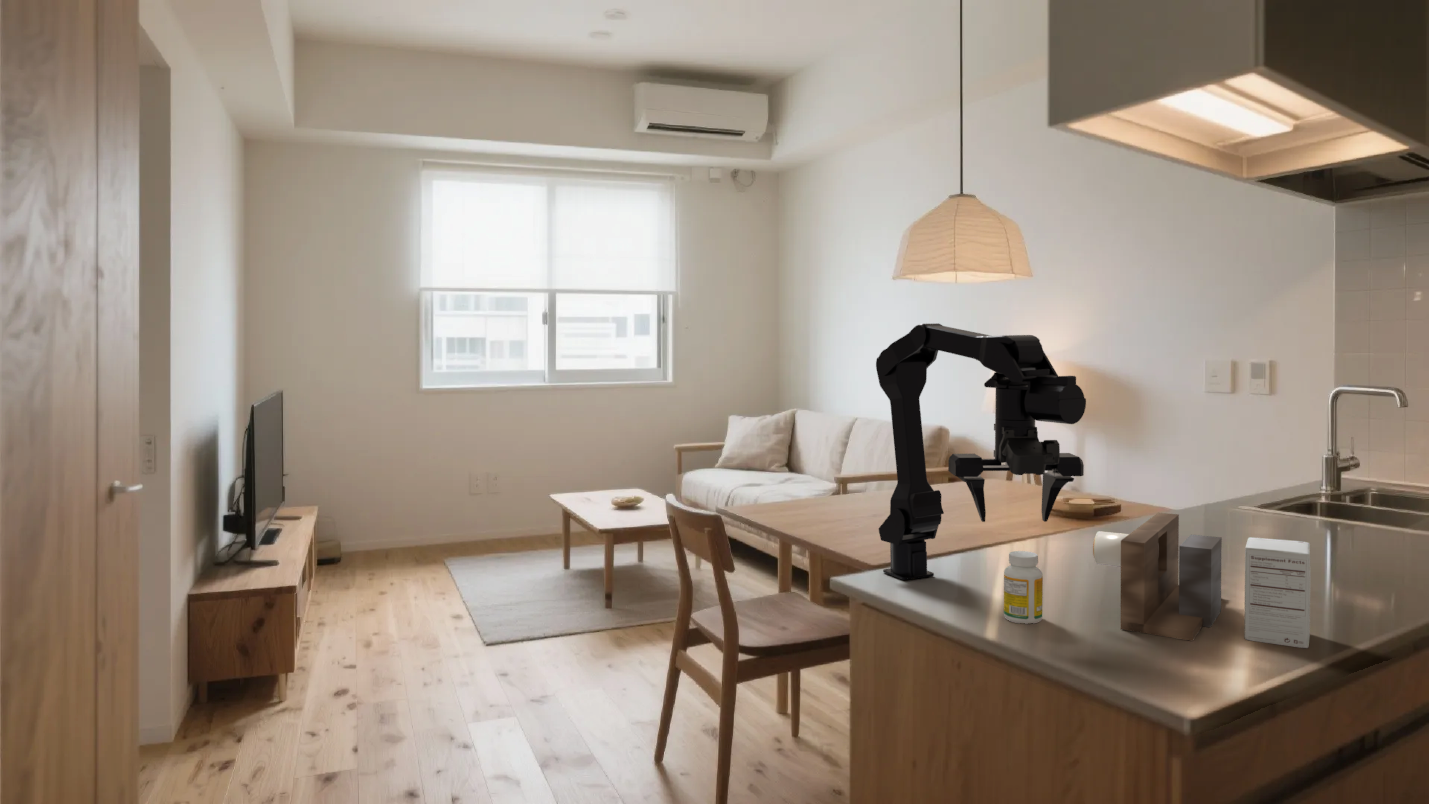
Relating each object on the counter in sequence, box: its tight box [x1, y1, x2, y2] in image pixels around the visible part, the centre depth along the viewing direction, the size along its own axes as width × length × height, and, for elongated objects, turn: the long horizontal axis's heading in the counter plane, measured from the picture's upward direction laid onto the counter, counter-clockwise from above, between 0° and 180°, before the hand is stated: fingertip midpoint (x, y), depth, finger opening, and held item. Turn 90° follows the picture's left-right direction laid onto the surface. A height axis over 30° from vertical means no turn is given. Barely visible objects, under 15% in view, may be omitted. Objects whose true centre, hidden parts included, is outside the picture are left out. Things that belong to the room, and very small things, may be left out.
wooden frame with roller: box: [1120, 512, 1223, 642], centre depth 132 cm, size 10×24×12 cm, turn 143°
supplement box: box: [1244, 536, 1311, 649], centre depth 121 cm, size 7×7×13 cm
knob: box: [1092, 530, 1159, 568], centre depth 136 cm, size 8×5×5 cm, turn 53°
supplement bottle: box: [1003, 550, 1044, 625], centre depth 131 cm, size 5×5×10 cm
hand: (1013, 521), depth 137 cm, fingers open, 9 cm apart
